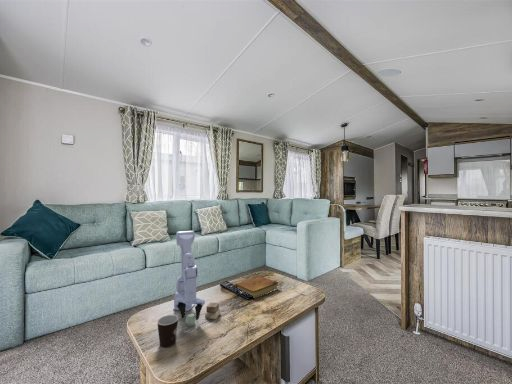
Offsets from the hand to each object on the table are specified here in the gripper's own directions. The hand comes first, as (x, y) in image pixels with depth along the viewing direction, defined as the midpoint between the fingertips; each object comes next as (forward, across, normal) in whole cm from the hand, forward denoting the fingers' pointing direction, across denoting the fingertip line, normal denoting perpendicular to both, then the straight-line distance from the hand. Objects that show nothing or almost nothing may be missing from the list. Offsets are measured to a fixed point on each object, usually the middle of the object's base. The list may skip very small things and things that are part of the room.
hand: (190, 318), depth 119 cm
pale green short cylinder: (+3, 0, 0) cm, 3 cm away
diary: (+3, +25, +48) cm, 54 cm away
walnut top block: (0, +8, +10) cm, 13 cm away
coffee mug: (+3, -2, -15) cm, 15 cm away
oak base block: (+3, +8, +10) cm, 13 cm away
